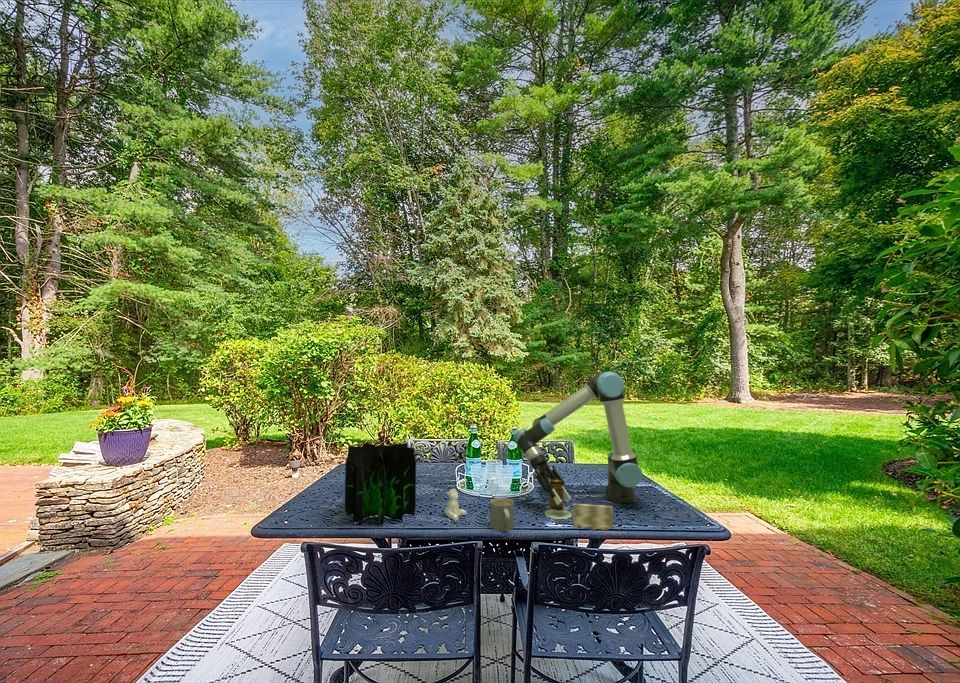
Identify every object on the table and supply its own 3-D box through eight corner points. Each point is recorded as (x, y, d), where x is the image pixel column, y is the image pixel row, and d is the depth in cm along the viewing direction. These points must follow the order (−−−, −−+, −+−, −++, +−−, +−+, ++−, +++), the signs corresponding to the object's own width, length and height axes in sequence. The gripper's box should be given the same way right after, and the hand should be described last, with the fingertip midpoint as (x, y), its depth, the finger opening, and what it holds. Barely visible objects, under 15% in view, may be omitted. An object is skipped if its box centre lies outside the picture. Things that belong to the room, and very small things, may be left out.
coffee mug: (489, 521, 186) (489, 498, 187) (512, 521, 187) (512, 497, 187) (491, 534, 173) (491, 508, 173) (516, 533, 173) (516, 508, 174)
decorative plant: (358, 532, 175) (359, 456, 176) (339, 510, 200) (340, 444, 201) (423, 518, 190) (424, 449, 191) (398, 500, 215) (399, 439, 217)
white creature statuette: (456, 521, 186) (456, 493, 187) (439, 518, 191) (439, 490, 191) (467, 515, 195) (467, 487, 195) (451, 511, 199) (451, 485, 199)
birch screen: (573, 527, 180) (572, 505, 181) (573, 524, 184) (572, 502, 184) (613, 530, 177) (612, 508, 177) (612, 527, 181) (612, 505, 181)
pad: (555, 508, 204) (555, 507, 204) (577, 515, 195) (577, 514, 195) (539, 514, 196) (539, 513, 196) (561, 521, 187) (561, 520, 187)
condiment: (554, 503, 201) (554, 477, 201) (570, 508, 195) (570, 481, 196) (545, 507, 196) (545, 480, 196) (561, 512, 190) (561, 484, 190)
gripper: (544, 460, 214) (572, 501, 201) (518, 466, 201) (546, 511, 188) (552, 450, 210) (581, 492, 198) (526, 456, 197) (556, 501, 185)
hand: (564, 501), depth 193 cm, fingers closed on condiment, 6 cm apart
